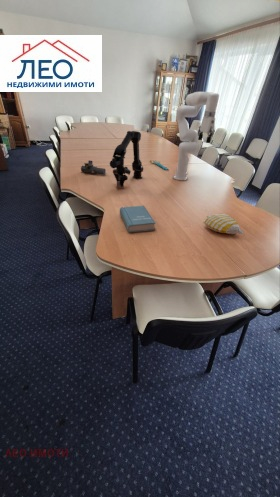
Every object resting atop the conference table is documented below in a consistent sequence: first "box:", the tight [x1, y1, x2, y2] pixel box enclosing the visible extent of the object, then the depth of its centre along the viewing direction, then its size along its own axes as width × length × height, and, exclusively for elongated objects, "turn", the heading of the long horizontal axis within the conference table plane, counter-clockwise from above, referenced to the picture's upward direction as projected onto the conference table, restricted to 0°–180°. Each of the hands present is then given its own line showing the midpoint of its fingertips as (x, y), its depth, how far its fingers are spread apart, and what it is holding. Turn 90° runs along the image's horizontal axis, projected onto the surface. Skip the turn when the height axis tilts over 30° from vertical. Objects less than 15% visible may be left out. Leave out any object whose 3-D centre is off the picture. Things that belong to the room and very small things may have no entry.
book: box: [119, 205, 156, 233], centre depth 136 cm, size 23×16×5 cm
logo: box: [150, 160, 169, 171], centre depth 239 cm, size 34×10×1 cm, turn 16°
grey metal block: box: [116, 181, 125, 190], centre depth 179 cm, size 5×4×5 cm
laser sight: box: [80, 160, 107, 176], centre depth 201 cm, size 10×22×10 cm, turn 78°
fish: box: [203, 213, 245, 235], centre depth 133 cm, size 25×8×20 cm
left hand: (120, 184), depth 179 cm, fingers open, 9 cm apart
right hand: (203, 141), depth 164 cm, fingers open, 9 cm apart
